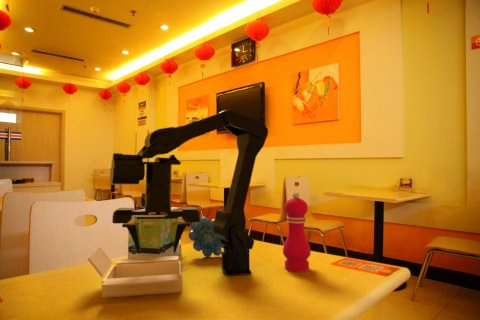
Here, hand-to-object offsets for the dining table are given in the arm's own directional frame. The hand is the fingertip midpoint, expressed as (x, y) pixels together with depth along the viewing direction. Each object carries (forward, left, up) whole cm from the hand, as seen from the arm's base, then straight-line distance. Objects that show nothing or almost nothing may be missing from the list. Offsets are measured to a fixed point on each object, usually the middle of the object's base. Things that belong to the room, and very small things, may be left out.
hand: (157, 253), depth 73 cm
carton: (+3, 0, -7) cm, 8 cm away
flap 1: (+12, 0, -1) cm, 12 cm away
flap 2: (-5, 0, -1) cm, 5 cm away
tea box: (+2, -22, -8) cm, 23 cm away
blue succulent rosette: (-13, -20, -7) cm, 25 cm away
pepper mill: (-35, -5, -7) cm, 37 cm away
